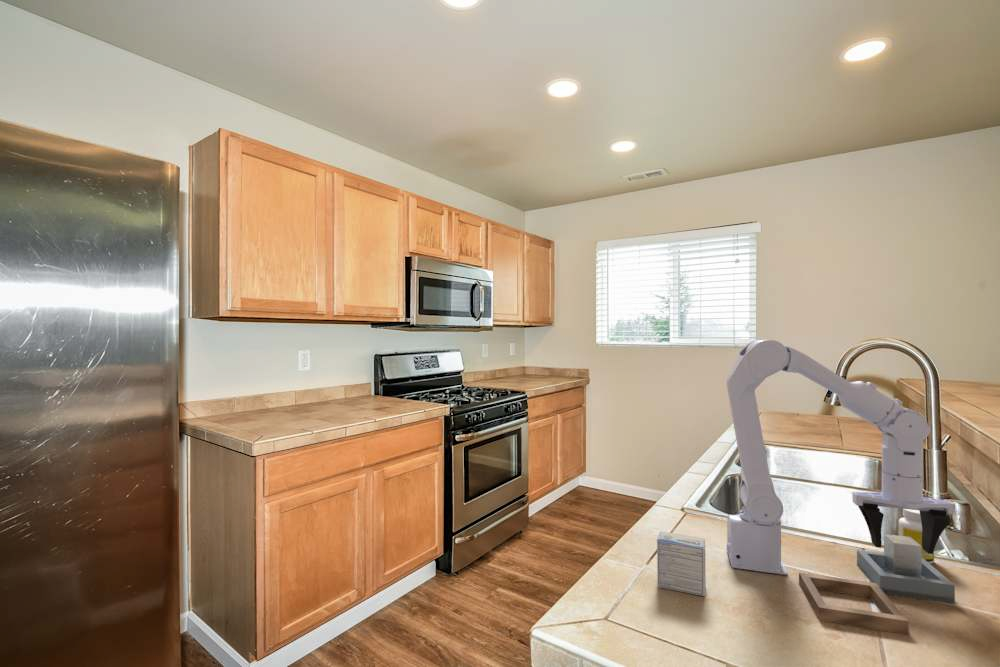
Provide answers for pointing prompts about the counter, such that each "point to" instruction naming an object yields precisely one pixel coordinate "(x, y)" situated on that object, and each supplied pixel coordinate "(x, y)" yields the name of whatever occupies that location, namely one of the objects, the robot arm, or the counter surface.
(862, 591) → the brown flat square frame
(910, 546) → the brushed metal top block
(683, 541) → the medicine box
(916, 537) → the supplement bottle
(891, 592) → the tray
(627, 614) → the counter surface
